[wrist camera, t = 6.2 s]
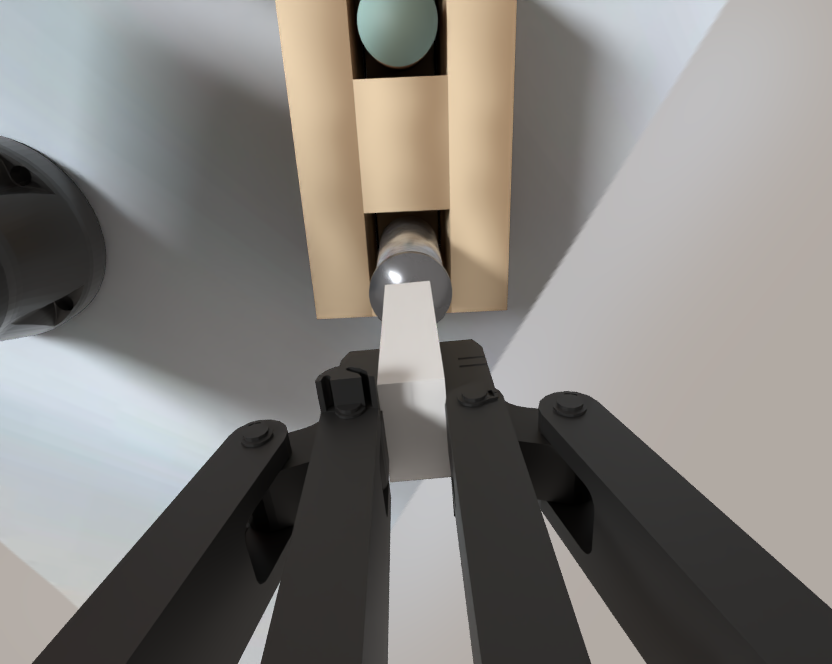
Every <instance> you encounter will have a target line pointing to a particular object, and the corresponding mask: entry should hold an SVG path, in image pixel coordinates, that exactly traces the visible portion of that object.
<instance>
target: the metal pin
mask: <svg viewBox="0 0 832 664" xmlns="http://www.w3.org/2000/svg"><path fill="white" fill-rule="evenodd" d="M422 281H430V285H431V292H432V299H433V305H434V312H435V318H436V323H438V322H439V321H440V320H441V319H442V318H443V317H444V315H445V314H446V313H447V311H448V309H449V307H450V304H451V300H452V285H451V281H450V278H449V275H448V273H447V271H446V269H445V268H444V267H443V264H442V260H441V256H440V251H439V247H438V243H437V238H436V235H435V232H434V230H433V229H432V227H431V226H430V225H429V224H428V223H427V222H426V221H424V220H423V219H421V218H418V217H415V216H403V217H399V218H396V219H395V220H393V221H392V222H390V223H389V224H388V225H387V226H386V228H385V229H384V231H383V233H382V236H381V240H380V247H379V254H378V261H377V267H376V270H375V271H374V273H373V275H372V278H371V281H370V286H369V299H370V304H371V307H372V309H373V311H374V312H375V314H376V315H377V317H378V318H379V319H380V320H381V321H382V316H383V304H384V291H385V285H389V284H400V283H411V282H422Z"/></svg>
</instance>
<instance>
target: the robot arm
mask: <svg viewBox="0 0 832 664" xmlns="http://www.w3.org/2000/svg"><path fill="white" fill-rule="evenodd" d="M105 263H106V253H105V244H104V239H103V235H102V231H101V228H100V225H99V223H98V220H97V218H96V216H95V214H94V211H93V209H92V208H91V206H90V204H89V202H88V201H87V199H86V198H85V196H84V195H83V194H82V192H81V191H80V190H79V188H78V187H77V186H76V185H75V184H74V182H73V181H72V180H71V179H70V178H69V177H68V176H67V175H66V174H65V173H64V172H63V171H62V170H61V169H60V168H58V167H57V166H56V165H55V164H54V163H52V162H51V161H50V160H48V159H47V158H46V157H44V156H43V155H41V154H40V153H38V152H36V151H35V150H33V149H31V148H29V147H27V146H25V145H23V144H21V143H19V142H16V141H14V140H11V139H9V138H6V137H2V136H0V341H4V340H10V339H16V338H21V337H27V336H33V335H37V334H41V333H44V332H47V331H49V330H51V329H54V328H56V327H58V326H60V325H62V324H63V323H65V322H66V321H68V320H69V319H71V318H72V317H74V316H75V315H77V314H78V313H79V312H81V311H82V310H83V309H84V308H85V307H86V306H87V305H88V304H89V303H90V302H91V301H92V300H93V298H94V297H95V295H96V294H97V292H98V290H99V288H100V286H101V283H102V280H103V276H104V272H105ZM315 383H316V388H317V394H318V399H319V404H320V409H321V416H320V420H319V422H317V423H316V424H314V425H312V426H309V427H307V428H304V429H301V430H297V431H294V432H290V433H288V431H287V428H286V425H284V424H283V423H281V422H280V421H275V420H258V421H255V422H254V421H253V422H250V423H248V424H246V425H244V426H242V427H240V428H238V429H237V430H235V431H234V432H233V433H232V434H231V435H230V436H229V437H228V438H227V439H226V440H225V441H224V442H223V444H222V445H221V446H220V447H219V448H218V449H217V451H216V452H215V453H214V454H213V455H212V456H211V457H210V459H209V460H208V461H207V462H206V463H205V464H204V466H203V467H202V468H201V469H200V470H199V471H198V472H197V474H196V475H195V476H194V477H193V478H192V479H191V481H190V482H189V483H188V484H187V485H186V486H185V487H184V489H183V490H182V491H181V492H180V493H179V494H178V496H177V497H176V498H175V499H174V500H173V501H172V502H171V504H170V505H169V506H168V507H167V508H166V509H165V511H164V512H163V513H162V514H161V515H160V516H159V517H158V519H157V520H156V521H155V522H154V523H153V524H152V525H151V527H150V528H149V529H148V530H147V531H146V532H145V534H144V535H143V536H142V537H141V538H140V539H139V540H138V542H137V543H136V544H135V545H134V546H133V547H132V549H131V550H130V551H129V552H128V553H127V554H126V555H125V557H124V558H123V559H122V560H121V561H120V562H119V564H118V565H117V566H116V567H115V568H114V569H113V570H112V572H111V573H110V574H109V575H108V576H107V577H106V579H105V580H104V581H103V582H102V583H101V584H100V585H99V587H98V588H97V589H96V590H95V591H94V592H93V594H92V595H91V596H90V597H89V598H88V599H87V600H86V602H85V603H84V604H83V605H82V606H81V607H80V609H79V610H78V611H77V612H76V614H74V616H73V617H72V618H71V619H70V620H69V621H68V622H67V624H66V625H65V626H64V627H63V628H62V629H61V630H60V632H59V633H58V634H57V635H56V636H55V637H54V639H53V640H52V641H51V642H50V643H49V644H48V645H47V647H46V648H45V649H44V650H43V651H42V652H41V654H40V655H39V656H38V657H37V658H36V659H35V661H34V662H33V663H32V664H238V662H239V660H240V658H241V656H242V654H243V652H244V650H245V648H246V646H247V644H248V643H249V641H250V639H251V637H252V635H253V633H254V631H255V629H256V627H257V625H258V623H259V621H260V619H261V617H262V615H263V614H264V612H265V610H266V608H267V606H268V604H269V602H270V600H271V598H272V596H273V594H274V592H275V590H276V588H277V586H278V585H279V583H280V586H279V590H278V594H277V598H276V602H275V606H274V611H273V615H272V619H271V623H270V627H269V631H268V635H267V640H266V644H265V648H264V652H263V656H262V660H261V664H388V620H389V570H390V567H389V566H390V520H391V494H390V486H389V476H390V482H399V481H410V480H422V479H433V478H444V477H451V480H452V494H453V507H454V516H455V517H456V525H457V533H458V541H459V549H460V557H461V565H462V573H463V581H464V589H465V598H466V605H467V614H468V622H469V629H470V638H471V646H472V654H473V662H474V664H591V662H590V659H589V656H588V653H587V650H586V647H585V644H584V640H583V638H582V635H581V632H580V628H579V625H578V622H577V619H576V616H575V613H574V610H573V607H572V604H571V601H570V598H569V595H568V592H567V589H566V586H565V583H564V580H563V576H562V573H561V570H560V568H559V564H558V561H557V559H556V555H555V552H554V549H553V546H552V543H551V540H550V537H549V534H548V531H547V528H546V525H545V522H544V519H543V516H542V513H541V511H542V512H543V514H544V515H545V516H546V518H547V519H548V521H549V522H550V524H551V525H552V527H553V528H554V530H555V531H556V532H557V534H558V535H559V537H560V538H561V540H562V541H563V543H564V544H565V546H566V547H567V548H568V550H569V551H570V553H571V554H572V556H573V557H574V559H575V560H576V562H577V563H578V564H579V566H580V567H581V569H582V570H583V572H584V573H585V574H586V576H587V578H588V579H589V580H590V582H591V583H592V585H593V586H594V587H595V589H596V591H597V592H598V594H599V595H600V596H601V598H602V599H603V601H604V602H605V604H606V605H607V607H608V608H609V610H610V611H611V612H612V614H613V615H614V617H615V618H616V620H617V621H618V623H619V624H620V626H621V627H622V628H623V630H624V631H625V633H626V634H627V636H628V637H629V639H630V640H631V641H632V643H633V644H634V646H635V647H636V649H637V650H638V652H639V653H640V654H641V656H642V657H643V659H644V660H645V662H646V663H647V664H832V609H831V608H830V607H829V606H828V605H827V604H826V603H824V602H823V601H822V600H821V599H820V598H819V597H818V596H817V595H815V594H814V593H813V592H812V591H811V590H810V589H808V588H807V587H806V586H805V585H804V584H803V583H802V582H801V581H800V580H798V579H797V578H796V577H795V576H794V575H793V574H792V573H791V572H789V571H788V570H787V569H786V568H785V567H784V566H783V565H782V564H781V563H779V562H778V561H777V560H776V559H775V558H774V557H773V556H771V555H770V554H769V553H768V552H767V551H766V550H765V549H764V548H762V547H761V546H760V545H759V544H758V543H757V542H756V541H754V540H753V539H752V538H751V537H750V536H749V535H748V534H746V532H744V531H743V530H742V529H741V528H740V527H739V526H738V525H736V524H735V523H734V522H733V521H732V520H731V519H730V518H729V517H727V516H726V515H725V514H724V513H723V512H722V511H721V510H720V509H718V508H717V507H716V506H715V505H714V504H713V503H712V502H710V501H709V500H708V499H707V498H706V497H705V496H704V495H703V494H701V493H700V492H699V491H698V490H697V489H696V488H695V487H694V486H692V485H691V484H690V483H689V482H688V481H687V480H686V479H685V478H684V477H682V476H681V475H680V474H679V473H678V472H677V471H676V470H674V469H673V468H672V467H671V466H670V465H669V464H667V462H665V461H664V460H663V459H662V458H661V457H660V456H659V455H658V454H656V453H655V452H654V451H653V450H652V449H651V448H649V447H648V446H647V445H646V444H645V443H644V442H643V441H642V440H641V439H640V438H638V437H637V436H636V435H635V434H634V433H633V432H632V431H631V430H629V429H628V428H627V427H626V426H625V425H624V424H622V423H621V422H620V421H619V420H618V419H617V418H616V417H615V416H614V415H612V414H611V413H610V412H609V411H608V410H607V409H606V408H605V407H603V406H602V405H601V404H600V403H599V402H597V401H596V400H595V399H593V398H592V397H590V396H588V395H584V394H581V393H578V392H569V391H564V392H556V393H553V394H550V395H547V396H545V397H544V398H543V399H542V400H541V401H540V403H539V408H538V409H536V408H526V407H520V406H516V405H513V404H509V403H508V402H506V401H505V400H504V397H503V395H502V394H501V392H500V391H499V390H497V389H496V388H495V387H494V383H493V380H492V377H491V374H490V371H489V368H488V365H487V361H486V358H485V355H484V352H483V348H482V346H480V345H479V344H478V343H476V342H475V341H474V340H472V339H470V340H459V341H448V342H439V338H438V332H437V325H436V318H435V312H434V305H433V299H432V292H431V285H430V281H422V282H411V283H400V284H389V285H385V291H384V304H383V316H382V328H381V341H380V349H374V350H363V351H352V352H349V353H348V354H347V355H346V356H345V357H344V358H343V359H342V360H341V363H340V366H338V367H334V368H332V369H329V370H327V371H325V372H324V373H322V374H321V375H319V376H318V378H317V379H316V381H315Z"/></svg>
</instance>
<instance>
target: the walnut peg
mask: <svg viewBox="0 0 832 664" xmlns="http://www.w3.org/2000/svg"><path fill="white" fill-rule="evenodd" d="M357 25H358V31H359V35H360V38H361V40H362V42H363V44H364V46H365V47H366V49H367V50H368V52H369V53H370V54H371V55H372V56H373V57H374V58H375V59H376V61H377V62H378V63H379V64H380V65H382V66H383V67H384V68H386V69H388V70H391V71H396V72H403V71H407V70H410V69H412V68H414V67H415V66H417V65H418V64H419V63H420V62H421V61H422V59H423V58H424V56H425V55H426V53H427V52H428V50H429V49H430V47H431V45H432V44H433V41H434V39H435V36H436V32H437V26H438V16H437V9H436V5H435V2H434V0H361V1H360V4H359V7H358V13H357Z"/></svg>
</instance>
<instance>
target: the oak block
mask: <svg viewBox="0 0 832 664" xmlns="http://www.w3.org/2000/svg"><path fill="white" fill-rule="evenodd" d="M275 2H276V10H277V18H278V25H279V33H280V40H281V48H282V56H283V63H284V71H285V79H286V86H287V94H288V102H289V109H290V117H291V124H292V132H293V140H294V147H295V155H296V163H297V170H298V178H299V186H300V193H301V201H302V208H303V216H304V224H305V231H306V239H307V247H308V254H309V262H310V270H311V277H312V285H313V292H314V300H315V308H316V315H317V319H332V318H352V317H373V316H377V315H376V314H375V312H374V311H373V309H372V307H371V304H370V299H369V286H370V281H371V278H372V275H373V273H374V271H375V270H376V267H377V261H378V254H379V250H378V249H377V236H376V223H375V213H377V221H378V234H379V247H380V240H381V236H382V233H383V231H384V229H385V228H386V226H387V225H388V224H389V223H390V222H392V221H393V220H395V219H396V218H399V217H403V216H415V217H418V218H421V219H423V220H424V221H426V222H427V223H428V224H429V225H430V226H431V227H432V229H433V230H434V232H435V235H436V238H437V243H438V247H439V242H438V210H440V237H441V247H439V251H440V256H441V260H442V264H443V267H444V268H445V269H446V271H447V273H448V275H449V278H450V281H451V285H452V300H451V304H450V307H449V309H448V311H447V313H456V312H477V311H498V310H507V296H508V264H509V232H510V200H511V168H512V136H513V104H514V72H515V40H516V8H517V0H435V5H436V9H437V16H438V26H437V32H436V68H437V76H434V45H433V44H432V45H431V47H430V49H429V50H428V52H427V53H426V55H425V56H424V58H423V59H422V61H421V62H420V63H419V64H418V65H417V66H415V67H414V68H412V69H410V70H407V71H403V72H396V71H391V70H388V69H386V68H384V67H383V66H382V65H380V64H379V63H378V62H377V61H376V59H375V58H374V57H373V56H372V55H371V54H370V53H369V52H368V50H367V49H366V47H365V56H366V70H367V79H365V75H364V62H363V49H362V40H361V38H360V35H359V31H358V25H357V13H358V7H359V0H275ZM417 76H420V77H417ZM395 77H398V78H395ZM374 78H377V79H374Z"/></svg>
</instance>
